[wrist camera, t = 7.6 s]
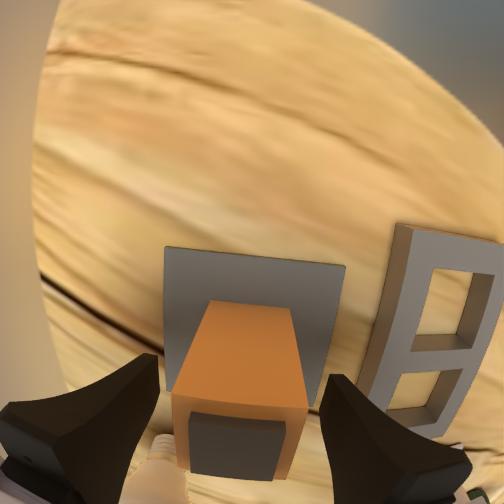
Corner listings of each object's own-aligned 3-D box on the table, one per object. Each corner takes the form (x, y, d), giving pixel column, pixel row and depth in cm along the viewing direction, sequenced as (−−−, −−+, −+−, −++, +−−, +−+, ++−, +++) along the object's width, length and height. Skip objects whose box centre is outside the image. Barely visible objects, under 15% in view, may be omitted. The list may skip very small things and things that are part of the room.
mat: (312, 403, 17) (312, 406, 17) (167, 388, 17) (166, 391, 17) (344, 265, 15) (345, 266, 15) (166, 246, 15) (164, 247, 15)
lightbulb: (211, 412, 17) (179, 564, 7) (222, 467, 19) (204, 587, 8) (122, 404, 18) (55, 525, 7) (145, 458, 19) (104, 564, 8)
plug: (278, 372, 16) (286, 489, 8) (207, 364, 16) (174, 477, 8) (289, 308, 15) (311, 419, 7) (210, 300, 15) (166, 403, 7)
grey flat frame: (432, 420, 17) (442, 436, 15) (339, 429, 17) (344, 449, 15) (496, 241, 14) (516, 248, 12) (396, 222, 14) (413, 228, 12)
